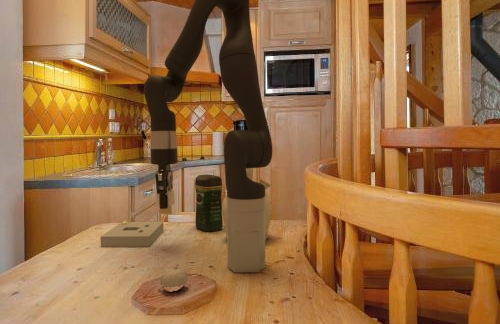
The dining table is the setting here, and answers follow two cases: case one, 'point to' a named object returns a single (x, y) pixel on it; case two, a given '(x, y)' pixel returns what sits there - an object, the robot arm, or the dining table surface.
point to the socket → (132, 234)
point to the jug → (267, 204)
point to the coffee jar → (208, 202)
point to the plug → (170, 202)
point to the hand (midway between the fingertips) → (165, 206)
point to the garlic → (174, 277)
